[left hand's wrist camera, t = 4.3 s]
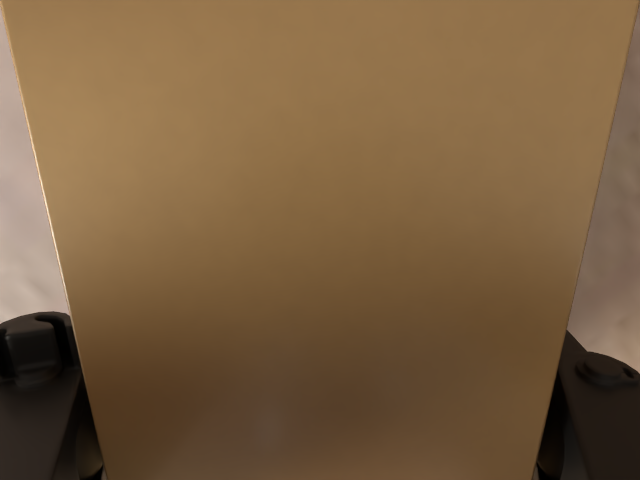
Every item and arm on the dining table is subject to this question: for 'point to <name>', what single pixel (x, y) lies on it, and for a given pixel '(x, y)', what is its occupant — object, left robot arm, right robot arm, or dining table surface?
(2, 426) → the left robot arm
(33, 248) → the dining table surface
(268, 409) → the bar
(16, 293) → the dining table surface
